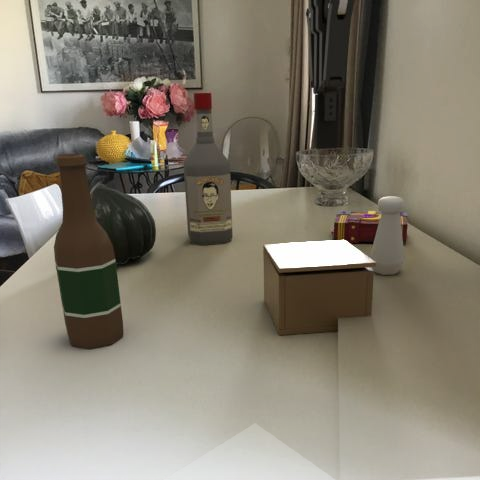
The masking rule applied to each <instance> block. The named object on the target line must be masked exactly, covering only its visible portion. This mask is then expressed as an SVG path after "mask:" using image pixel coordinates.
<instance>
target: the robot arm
mask: <svg viewBox="0 0 480 480" xmlns="http://www.w3.org/2000/svg"><path fill="white" fill-rule="evenodd" d="M355 1H356V0H308V8H306V11H305V16H306V17H305V19H306V24H307V37H308V57H309V59H308V60H309V61H308V62H309V76H310V77H309V79H310V81H309V86H310V89H312V92H313V95H314V135H313V136H314V139H313V140H314V143H313V146H314V149H316V150H326V149H338V148H339V111H340V110H339V109H340V108H339V107H340V93H341V90H342V88H345V86H346V84H347V83H346V82H347V81H346V79H347V69H348V68H347V67H348V57H349V47H350V46H349V45H350V36H351V35H350V34H351V25H352V16H353V11H354V6H355Z"/></svg>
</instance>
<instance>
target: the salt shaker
mask: <svg viewBox="0 0 480 480" xmlns="http://www.w3.org/2000/svg"><path fill="white" fill-rule="evenodd" d="M377 210H378V212H379V213H382V214H381V218H380V221H379V225H378V229H377V233H376V236H375V240H374V242H373V245H372V248H371V252H370V256H369V258H371V259H372V260H373V261H375V262H376V267H372V269H373V270H374V274H375V273H376V274H380V275H382V276H394V275H397V274H398V273H399V272H400V270H401V268H402V266H403V265H404V262H405V250H404V243H403V239H402V228H401V218H400V212H404V210H405V200H404V199H403V198H402V197H399V196H394V195H390V196H389V195H388V196H387V195H386V196H383V197H381V198H380V199H379V200H378V202H377Z"/></svg>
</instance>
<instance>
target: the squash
mask: <svg viewBox="0 0 480 480" xmlns="http://www.w3.org/2000/svg"><path fill="white" fill-rule="evenodd" d="M90 194H91V200H92V205H93V210H94V213H95V216H96V219H97V222H98V223H99V224H100V225H101V227H102V228H103V229H104V230H105V232H106V233H107V235H108V237H109V239H110V241H111V243H112V245H113V250H114V255H115V260H116V265H125V264H126V263H127V262H129V260H130V259H133V260H134V259H137V258H142V257H143V256H145V255H147V254H148V253H149V252H151V250H152V249H153V248H154V246H155V244H156V243H155V242H156V239H157V228H156V222H155V219H154V217H153V215H152V213H151V212H150V210H149V208H148V207H147V206H146V205H145V204H144V203H143V202H142V201H141V200H140V199H138V198H136V197H134V196H133V195H131V194H128V193H125V192H122V191H119V190H118V189H114V188H110V187H107V186H106V187H105V186H96V187H95V188H94V190H93V191H92V192H91V193H90Z"/></svg>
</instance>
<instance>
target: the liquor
mask: <svg viewBox="0 0 480 480" xmlns="http://www.w3.org/2000/svg"><path fill="white" fill-rule="evenodd" d="M213 108H214V107H213V92H193V109H194V110H195V117H196V139H195V144H194V145H193V147H192V148H191V150H190V151H189V153H188V154H187V155H186V157H185V158H184V160H183V161H184V162H183V177H184V178H183V179H184V192H185V193H184V194H185V195H184V196H185V206H186V210H185V211H186V224H187V235H188V238H189V240H190V242H191V244H192V245H198V246H210V245H211V246H212V245H224V244H226V243H229V242H231V241H232V239H233V237H234V235H233V212H232V211H233V210H232V184H231V183H232V181H231V164H230V162H229V159H228V158H227V157H226V155H225V154H224V153H223V152H222V150H220V148H219V146H217V145H216V143H215V138H214V131H213V115H212V110H213Z"/></svg>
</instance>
